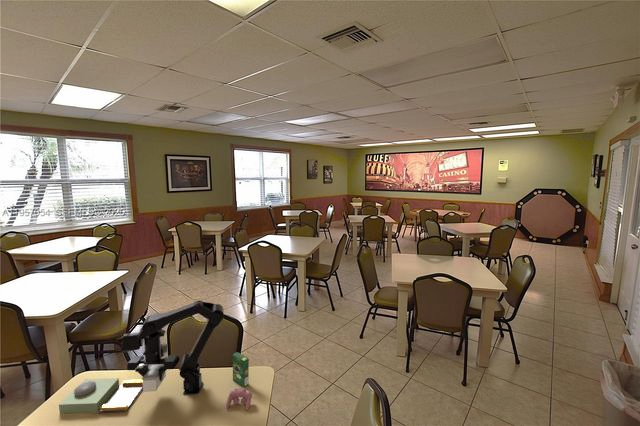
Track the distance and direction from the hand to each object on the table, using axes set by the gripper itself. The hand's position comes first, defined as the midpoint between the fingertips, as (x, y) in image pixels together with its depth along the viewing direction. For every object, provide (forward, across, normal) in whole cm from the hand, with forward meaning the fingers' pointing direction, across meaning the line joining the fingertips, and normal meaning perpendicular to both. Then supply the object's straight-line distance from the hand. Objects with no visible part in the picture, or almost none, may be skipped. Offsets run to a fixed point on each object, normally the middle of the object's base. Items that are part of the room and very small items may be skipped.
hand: (154, 380), depth 121 cm
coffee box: (+8, -34, -7) cm, 36 cm away
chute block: (+1, 0, 0) cm, 1 cm away
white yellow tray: (+8, +13, 0) cm, 15 cm away
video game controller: (+8, -36, +6) cm, 37 cm away
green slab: (+8, +26, 0) cm, 27 cm away
